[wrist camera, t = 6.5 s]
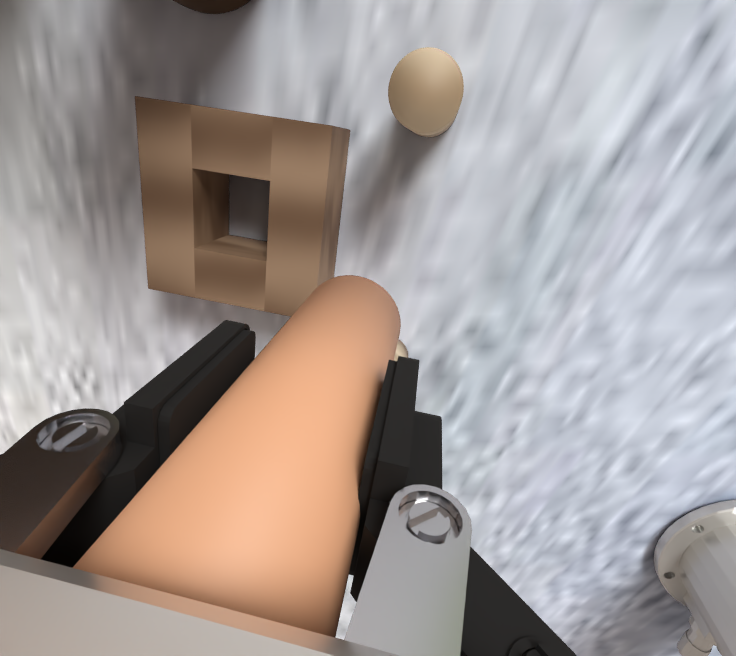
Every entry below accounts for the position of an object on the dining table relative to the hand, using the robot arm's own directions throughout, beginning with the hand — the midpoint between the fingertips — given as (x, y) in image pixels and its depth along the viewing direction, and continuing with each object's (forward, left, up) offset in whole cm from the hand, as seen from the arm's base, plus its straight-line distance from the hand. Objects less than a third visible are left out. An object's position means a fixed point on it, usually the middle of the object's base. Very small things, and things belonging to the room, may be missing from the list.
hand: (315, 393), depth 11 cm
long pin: (0, 0, -5) cm, 5 cm away
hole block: (+1, +10, -22) cm, 24 cm away
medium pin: (+8, -1, -22) cm, 23 cm away
